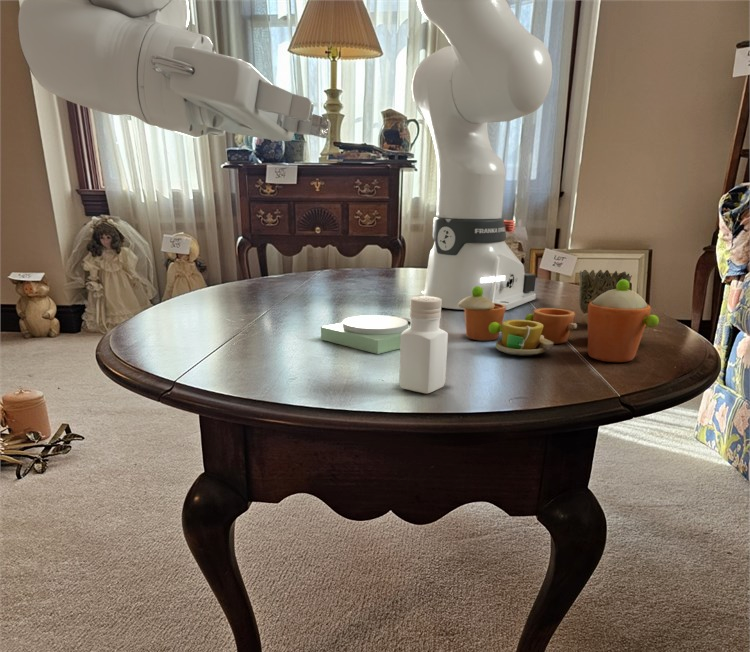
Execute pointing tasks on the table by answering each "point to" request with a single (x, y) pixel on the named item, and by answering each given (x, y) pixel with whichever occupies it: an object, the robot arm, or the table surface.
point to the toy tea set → (564, 325)
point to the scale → (368, 332)
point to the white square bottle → (423, 347)
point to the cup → (597, 285)
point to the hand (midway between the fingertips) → (320, 120)
